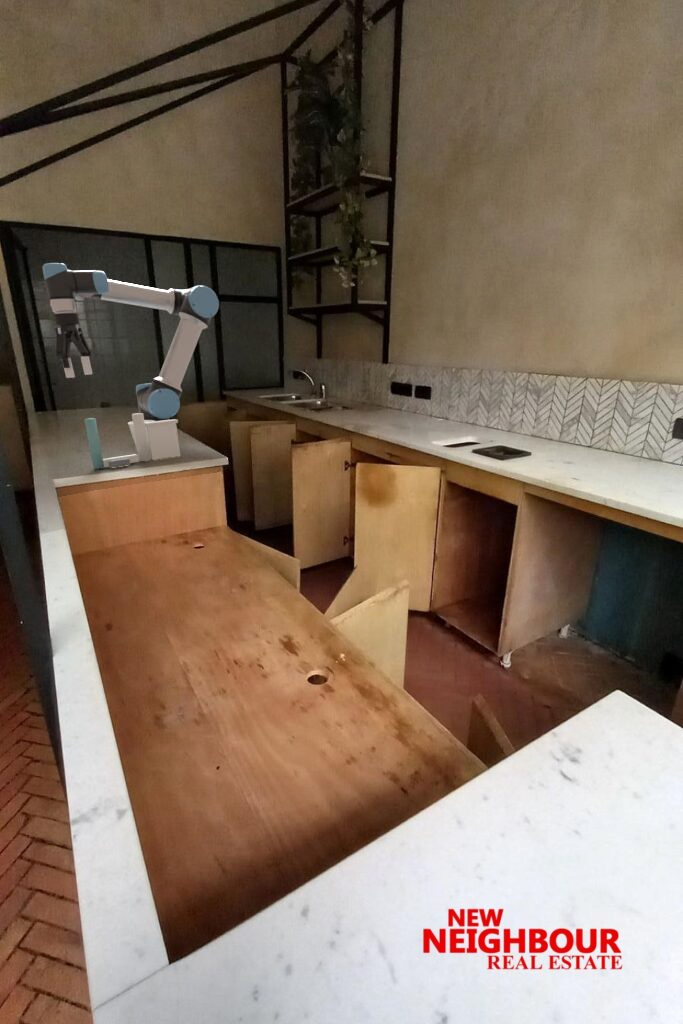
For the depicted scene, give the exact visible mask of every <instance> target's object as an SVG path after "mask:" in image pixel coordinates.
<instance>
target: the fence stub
mask: <svg viewBox="0 0 683 1024" xmlns="http://www.w3.org/2000/svg"><path fill="white" fill-rule="evenodd" d="M178 423H179V419H175V418H174V419H169V420H163V421H154V422H145V426H146V431H147V438H148V445H149V457H150V460H151V459H158V458H166V459H168V458H167V457H172V458H176V457H175V456H178V457H181V452H180V451H181V450H180V444H179V435H178V427H177V424H178Z"/></svg>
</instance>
